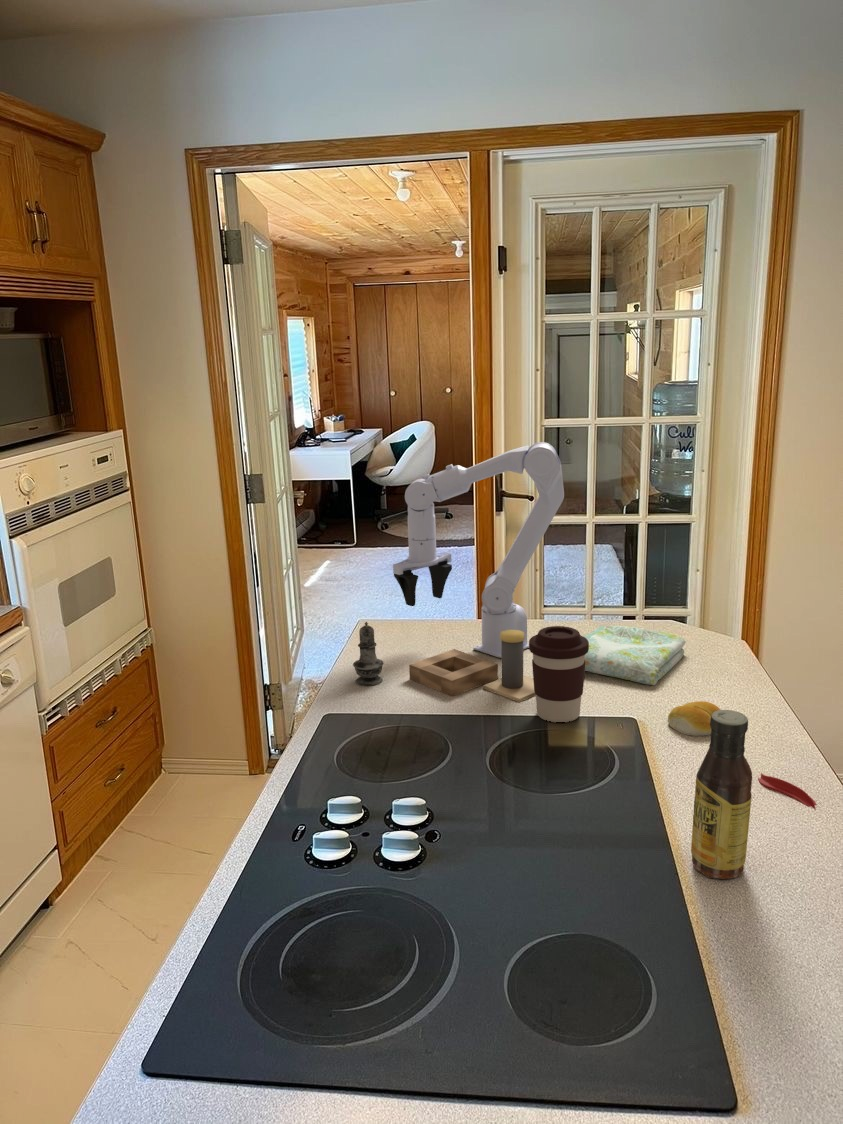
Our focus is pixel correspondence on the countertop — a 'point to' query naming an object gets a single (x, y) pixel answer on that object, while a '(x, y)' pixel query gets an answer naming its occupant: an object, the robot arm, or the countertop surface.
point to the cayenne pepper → (787, 789)
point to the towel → (632, 653)
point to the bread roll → (692, 718)
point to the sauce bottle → (722, 800)
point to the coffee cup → (558, 672)
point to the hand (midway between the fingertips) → (424, 601)
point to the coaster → (514, 694)
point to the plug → (512, 658)
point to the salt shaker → (368, 659)
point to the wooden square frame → (443, 679)
